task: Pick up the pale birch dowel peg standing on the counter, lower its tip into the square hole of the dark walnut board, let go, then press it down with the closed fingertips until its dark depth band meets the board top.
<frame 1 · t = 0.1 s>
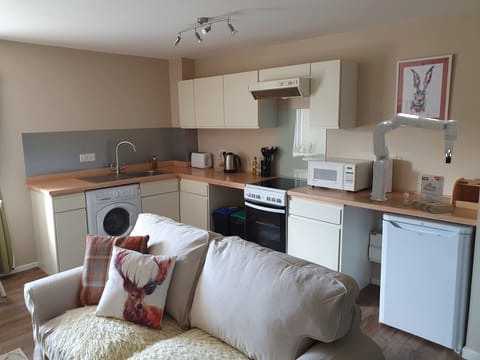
hand: (448, 162, 256), 31 cm above the countertop, tool pointing down, fingers open, 9 cm apart
board: (431, 209, 251), on the countertop
cracker box: (430, 203, 270), on the countertop
peg: (405, 205, 264), on the countertop
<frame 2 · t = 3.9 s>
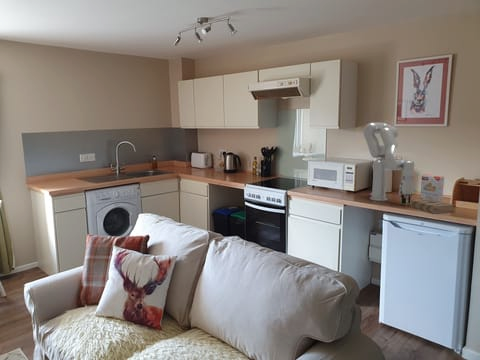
hand: (405, 202, 263), 2 cm above the countertop, tool pointing down, fingers closed on peg, 3 cm apart
peg: (405, 205, 264), on the countertop, touching gripper
everything else where it was.
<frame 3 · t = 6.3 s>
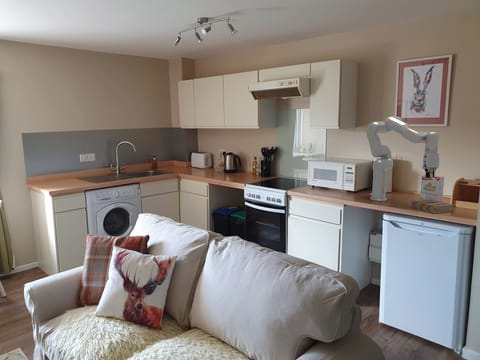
hand: (429, 177, 249), 22 cm above the countertop, tool pointing down, fingers closed on peg, 3 cm apart
peg: (429, 179, 249), point 20 cm above the countertop, touching gripper
everything else where it was.
when the fingers open (6 cm above the countertop, at t = 8.8 s): peg drops 4 cm, resting in board.
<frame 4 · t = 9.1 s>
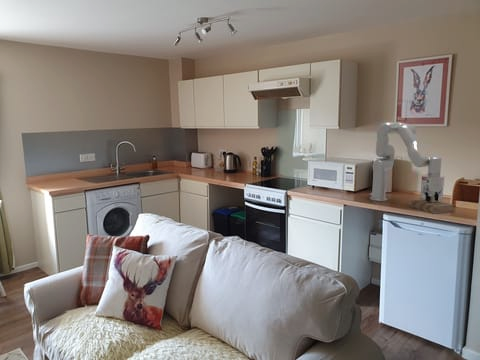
hand: (431, 200, 250), 6 cm above the countertop, tool pointing down, fingers open, 6 cm apart
peg: (431, 209, 251), resting in board
everything else where it was.
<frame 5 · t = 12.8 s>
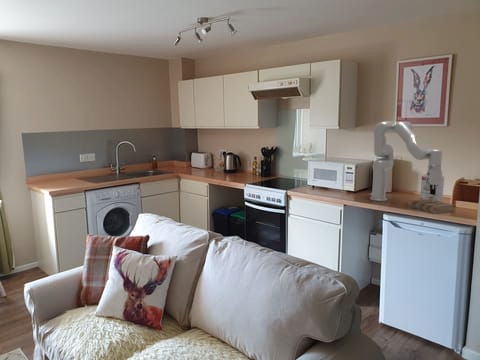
hand: (432, 194, 249), 11 cm above the countertop, tool pointing down, fingers closed
nothing on the countertop moved.
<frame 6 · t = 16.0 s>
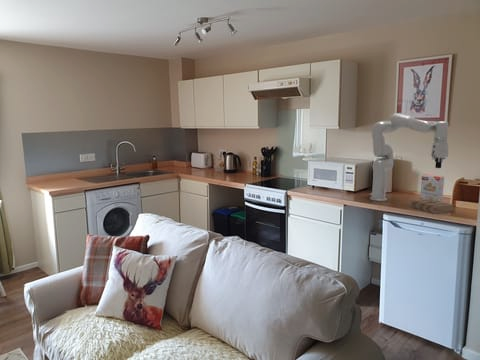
hand: (438, 167, 243), 29 cm above the countertop, tool pointing down, fingers closed
nothing on the countertop moved.
at the end: peg 0.0 cm off-centre on the board, point 0.0 cm above the board's base; peg tilted 0°; the gripper is holding nothing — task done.
